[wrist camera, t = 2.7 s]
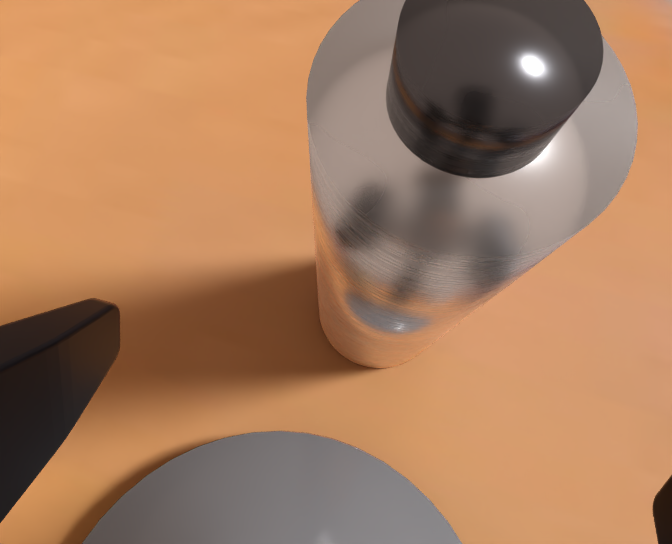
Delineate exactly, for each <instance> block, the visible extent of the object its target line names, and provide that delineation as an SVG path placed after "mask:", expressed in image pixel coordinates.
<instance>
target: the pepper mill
mask: <svg viewBox="0 0 672 544" xmlns="http://www.w3.org/2000/svg"><path fill="white" fill-rule="evenodd" d="M306 99H307V120H308V137H309V154H310V170H311V187H312V204H313V221H314V238H315V255H316V271H317V288H318V305H319V317H320V322H321V325H322V329H323V331H324V333H325V335H326V337H327V339H328V340H329V342H330V343H331V345H332V346H333V347H334V348H335V349H336V350H337V351H338V352H339V353H340V354H341V355H343V356H344V357H346V358H347V359H348V360H350V361H352V362H354V363H357V364H359V365H362V366H366V367H371V368H389V367H394V366H398V365H401V364H403V363H405V362H407V361H409V360H411V359H413V358H414V357H416V356H417V355H418V354H420V353H421V352H422V351H423V350H425V349H426V348H427V347H429V346H430V345H431V344H433V343H434V342H435V341H437V340H438V339H439V338H440V337H442V336H443V335H444V334H446V333H447V332H448V331H450V330H451V329H452V328H454V327H455V326H456V325H458V324H459V323H460V322H461V321H463V320H464V319H465V318H467V317H468V316H469V315H471V314H472V313H473V312H475V311H476V310H477V309H479V308H480V307H481V306H482V305H484V304H485V303H486V302H488V301H489V300H490V299H492V298H493V297H494V296H496V295H497V294H498V293H499V292H501V291H502V290H503V289H505V288H506V287H507V286H509V285H510V284H511V283H513V282H514V281H515V280H517V279H518V278H519V277H520V276H522V275H523V274H524V273H526V272H527V271H528V270H530V269H531V268H532V267H534V266H535V265H536V264H537V263H539V262H540V261H541V260H543V259H544V258H545V257H547V256H548V255H549V254H551V253H552V252H553V251H555V250H556V249H557V248H558V247H560V246H561V245H562V244H564V243H565V242H566V241H568V240H569V239H570V238H572V237H573V236H574V235H575V234H577V233H578V232H579V231H581V230H582V229H583V228H585V227H586V226H587V225H589V224H590V223H591V222H592V221H593V220H594V219H595V218H596V217H597V216H599V215H600V214H601V213H602V212H603V211H604V210H605V209H606V208H607V206H608V205H609V204H610V203H611V201H612V200H613V199H614V198H615V196H616V195H617V194H618V192H619V190H620V188H621V186H622V185H623V183H624V181H625V179H626V178H627V175H628V172H629V170H630V167H631V164H632V162H633V158H634V153H635V148H636V143H637V125H638V122H637V113H636V104H635V100H634V96H633V92H632V88H631V85H630V83H629V80H628V78H627V75H626V73H625V71H624V68H623V66H622V65H621V63H620V61H619V59H618V58H617V56H616V54H615V53H614V51H613V50H612V48H611V47H610V46H609V44H608V43H607V42H606V40H605V39H604V38H603V36H602V35H601V31H600V28H599V25H598V23H597V21H596V18H595V16H594V15H593V13H592V11H591V9H590V8H589V6H588V5H587V4H586V2H585V1H584V0H360V1H358V2H357V3H355V4H354V5H353V6H352V7H351V8H350V9H348V10H347V11H346V12H345V13H344V14H343V15H342V16H341V17H340V18H339V19H338V20H337V22H336V23H335V24H334V25H333V26H332V27H331V29H330V30H329V32H328V33H327V35H326V36H325V38H324V39H323V41H322V43H321V44H320V46H319V49H318V51H317V53H316V56H315V58H314V60H313V63H312V67H311V71H310V74H309V78H308V87H307V96H306Z"/></svg>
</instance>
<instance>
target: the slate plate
mask: <svg viewBox="0 0 672 544" xmlns="http://www.w3.org/2000/svg"><path fill="white" fill-rule="evenodd" d="M82 544H462V543H461V541H460V539H459V538H458V536H457V535H456V533H455V532H454V530H453V529H452V527H451V526H450V524H449V523H448V521H447V520H446V519H445V518H444V517H443V515H442V514H441V513H440V512H439V511H438V509H437V508H436V507H435V506H434V505H433V503H432V502H431V501H430V500H429V499H428V498H427V497H426V496H425V495H424V494H423V493H422V492H421V491H420V490H419V489H417V488H416V487H415V486H414V485H413V484H412V483H411V482H410V481H409V480H408V479H407V478H405V477H404V476H402V475H401V474H400V473H398V472H397V471H395V470H394V469H393V468H391V467H390V466H388V465H387V464H386V463H384V462H383V461H381V460H379V459H378V458H376V457H374V456H372V455H370V454H368V453H366V452H364V451H363V450H361V449H359V448H357V447H354V446H352V445H349V444H346V443H344V442H341V441H338V440H335V439H333V438H328V437H324V436H319V435H315V434H310V433H303V432H290V431H270V432H254V433H248V434H243V435H237V436H232V437H227V438H223V439H220V440H217V441H214V442H211V443H208V444H205V445H202V446H199V447H196V448H194V449H192V450H190V451H188V452H186V453H184V454H182V455H180V456H178V457H176V458H174V459H172V460H170V461H169V462H167V463H165V464H164V465H162V466H161V467H159V468H158V469H156V470H155V471H153V472H152V473H150V474H149V475H147V476H146V477H144V478H143V479H142V480H141V481H140V482H138V483H137V484H136V485H135V486H134V487H132V488H131V489H130V490H129V491H128V492H126V493H125V494H124V495H123V496H122V497H121V498H120V499H119V500H118V501H117V502H116V503H115V504H114V505H113V506H112V507H111V508H110V509H109V511H108V512H107V513H106V514H105V515H104V516H103V517H102V518H101V519H100V520H99V521H98V523H97V524H96V526H95V527H94V528H93V530H92V531H91V532H90V534H89V535H88V536H87V538H86V539H85V540H84V542H83V543H82Z"/></svg>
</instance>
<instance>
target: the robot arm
mask: <svg viewBox="0 0 672 544" xmlns="http://www.w3.org/2000/svg"><path fill="white" fill-rule="evenodd" d="M119 348H120V311H119V308H118V306H117V305H116V304H114V303H110V302H107V301H103V300H100V299H95V298H91V299H87V300H84V301H80V302H77V303H74V304H71V305H67V306H64V307H61V308H57V309H54V310H51V311H48V312H44V313H41V314H38V315H34V316H31V317H28V318H25V319H21V320H18V321H15V322H11V323H8V324H5V325H2V326H0V523H1V522H2V520H3V519H4V518H5V516H6V515H7V514H8V513H9V511H10V510H11V509H12V507H13V506H14V505H15V504H16V502H17V501H18V500H19V498H20V497H21V496H22V495H23V493H24V492H25V491H26V489H27V488H28V487H29V486H30V484H31V483H32V482H33V481H34V479H35V478H36V477H37V475H38V474H39V473H40V472H41V470H42V469H43V468H44V466H45V465H46V464H47V463H48V461H49V460H50V459H51V457H52V456H53V455H54V454H55V452H56V451H57V450H58V448H59V447H60V446H61V444H62V443H63V442H64V440H65V439H66V437H67V436H68V434H69V433H70V431H71V430H72V428H73V427H74V425H75V424H76V422H77V421H78V419H79V417H80V416H81V414H82V413H83V411H84V409H85V408H86V406H87V405H88V403H89V401H90V400H91V398H92V396H93V395H94V393H95V392H96V390H97V388H98V387H99V385H100V384H101V382H102V380H103V379H104V377H105V376H106V374H107V372H108V371H109V369H110V368H111V366H112V364H113V363H114V361H115V359H116V357H117V355H118V352H119ZM653 517H654V522H655V528H656V533H657V539H658V544H672V475H671V477H670V478H669V479H668V480H667V482H666V483H665V484H664V486H663V487H662V488H661V489H660V491H659V492H658V493H657V495H656V496H655V499H654V502H653Z"/></svg>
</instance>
